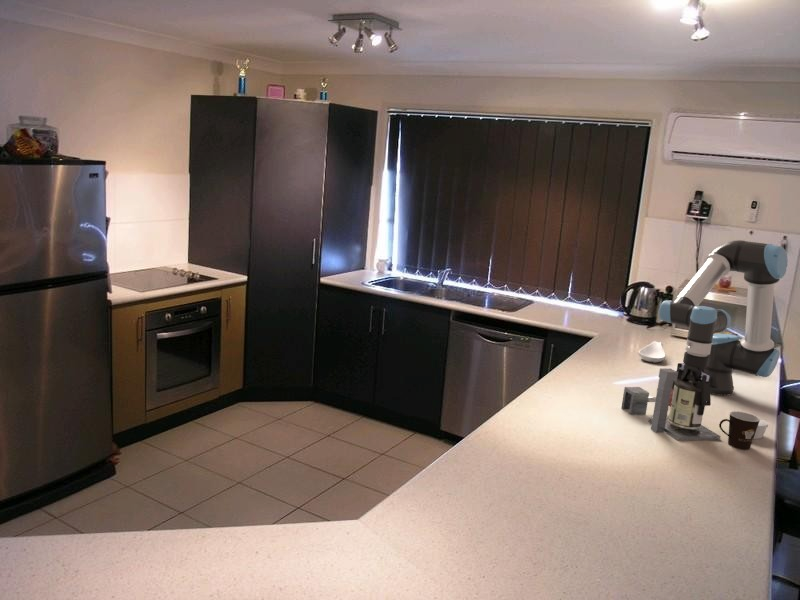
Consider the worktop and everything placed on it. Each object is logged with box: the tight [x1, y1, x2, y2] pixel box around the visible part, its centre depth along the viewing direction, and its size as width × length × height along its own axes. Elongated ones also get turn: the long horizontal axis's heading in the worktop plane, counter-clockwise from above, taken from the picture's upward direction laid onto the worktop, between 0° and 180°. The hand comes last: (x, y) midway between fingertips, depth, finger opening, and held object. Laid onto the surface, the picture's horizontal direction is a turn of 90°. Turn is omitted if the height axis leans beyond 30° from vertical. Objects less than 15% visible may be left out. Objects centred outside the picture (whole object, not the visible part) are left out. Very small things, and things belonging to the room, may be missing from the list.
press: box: [620, 367, 721, 442], centre depth 226 cm, size 20×28×21 cm
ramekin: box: [753, 417, 769, 440], centre depth 224 cm, size 11×11×5 cm
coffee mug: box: [718, 410, 761, 451], centre depth 213 cm, size 12×9×10 cm
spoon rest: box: [638, 340, 666, 364], centre depth 312 cm, size 24×12×7 cm, turn 150°
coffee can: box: [668, 379, 704, 429], centre depth 221 cm, size 10×10×14 cm
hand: (685, 417), depth 222 cm, fingers closed on coffee can, 10 cm apart
